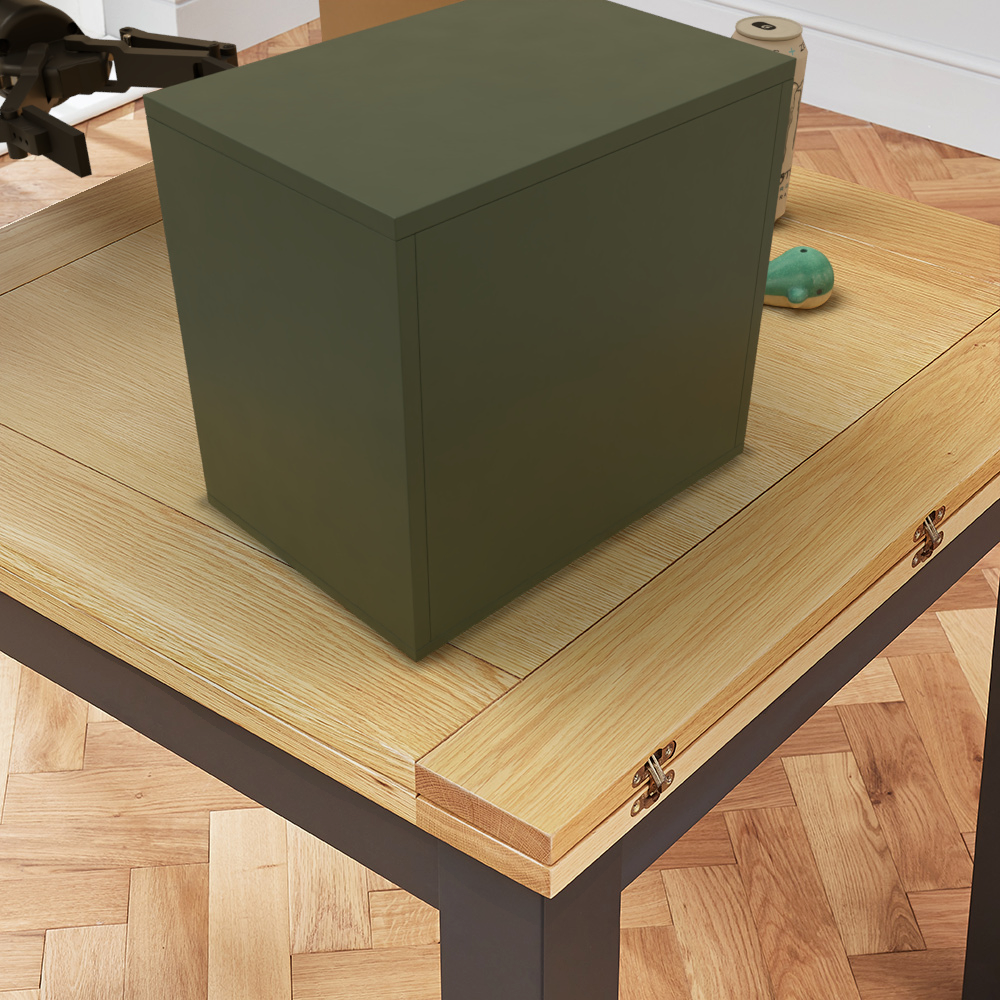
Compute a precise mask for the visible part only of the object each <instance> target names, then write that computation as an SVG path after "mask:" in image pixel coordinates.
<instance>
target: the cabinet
mask: <svg viewBox="0 0 1000 1000" xmlns="http://www.w3.org/2000/svg"><path fill="white" fill-rule="evenodd" d="M796 61H797V58H795V57H791V56H788V55H785V54H782V53H778V52H775V51H772V50H769V49H765V48H762V47H759V46H755V45H752V44H749V43H746V42H742V41H739V40H736V39H733V38H731V37H728V36H727V35H723V34H719V33H716V32H713V31H710V30H706V29H704V28H703V29H702V28H700V27H696V26H694V25H691V24H690V25H689V24H686V23H683V22H680V21H677V20H673V19H671V18H667V17H663V16H660V15H657V14H655V13H651V12H647V11H644V10H641V9H637V8H634V7H632V6H627V5H625V4H624V5H623V4H621V3H618V2H615V1H611V0H464V1H461V2H457V3H454V4H451V5H447V6H444V7H440V8H437V9H434V10H430V11H427V12H423V13H420V14H416V15H413V16H410V17H406V18H403V19H399V20H396V21H393V22H389V23H386V24H382V25H379V26H375V27H372V28H369V29H365V30H362V31H358V32H355V33H351V34H348V35H345V36H341V37H338V38H334V39H331V40H328V41H324V42H322V41H321V42H318V43H313V44H311V45H308V46H304V47H301V48H296V49H294V50H289V51H287V52H283V53H279V54H276V55H273V56H270V57H266V58H263V59H259V60H255V61H252V62H250V63H246V64H243V65H238V66H239V67H235V68H232V69H228V70H225V71H222V72H218V73H215V74H211V75H208V76H204V77H201V78H198V79H194V80H191V81H187V82H184V83H181V84H177V85H174V86H170V87H167V88H159V89H157V90H153V91H150V92H147V93H144V94H142V101H143V107H144V114H145V115H146V116H145V120H146V126H147V131H148V137H149V145H150V150H151V151H150V152H151V157H152V163H153V169H154V175H155V181H156V187H157V194H158V200H159V205H160V212H161V218H162V223H163V225H162V226H163V230H164V237H165V242H166V249H167V256H168V263H169V268H170V274H171V279H172V286H173V293H174V299H175V305H176V310H177V318H178V323H179V329H180V335H181V341H182V348H183V354H184V360H185V365H186V372H187V379H188V384H189V390H190V397H191V402H192V403H191V404H192V409H193V416H194V422H195V428H196V434H197V442H198V447H199V453H200V459H201V465H202V466H201V467H202V471H203V478H204V484H205V490H206V496H207V497H206V498H207V501H208V504H209V505H211V507H213V508H214V509H215V510H217V511H218V512H220V513H221V514H222V515H224V516H225V517H226V518H228V519H229V520H230V521H231V522H233V523H234V525H236V526H238V528H240V529H242V530H243V531H244V532H246V533H247V534H249V535H250V536H251V537H252V538H253V539H255V540H256V541H257V542H259V543H260V544H261V545H263V546H264V548H266V549H268V550H269V551H271V553H273V554H274V555H276V556H277V557H278V558H279V559H281V560H282V561H283V562H285V563H286V564H287V565H288V566H290V567H291V568H292V569H293V570H295V571H296V572H298V573H299V574H301V576H302V577H304V578H306V580H308V581H309V582H310V583H312V584H313V585H315V586H316V587H317V588H318V589H320V590H321V591H323V592H324V593H325V594H326V595H328V596H329V597H330V598H332V599H333V601H335V602H337V603H338V604H339V605H341V606H342V607H343V608H345V609H346V610H347V611H348V612H350V613H351V614H352V615H354V617H356V618H357V619H359V620H360V621H361V622H363V623H364V624H365V625H367V626H368V627H369V628H370V629H372V630H373V631H374V632H376V633H377V634H378V635H379V636H381V637H382V638H383V639H385V641H387V642H389V643H390V644H391V645H393V646H394V647H395V648H397V650H399V651H400V652H402V653H403V654H404V655H406V657H408V658H410V659H411V660H412V661H413V662H415V663H418V662H420V661H421V660H423V659H424V658H426V657H428V656H429V655H430V654H433V653H434V652H436V651H437V650H438V649H441V648H442V647H443V646H445V645H447V644H448V643H449V642H451V641H452V640H454V639H455V638H457V637H459V636H460V635H461V634H463V633H465V632H466V631H468V630H470V629H471V628H473V627H474V626H476V625H477V624H478V623H481V622H483V620H485V619H487V618H488V617H489V616H492V615H493V614H495V613H496V612H497V611H499V610H501V609H502V608H504V607H505V606H507V605H508V604H510V603H512V602H514V601H515V600H516V599H518V598H519V597H521V596H523V595H524V594H525V593H527V592H529V591H530V590H532V589H533V588H534V587H536V586H538V585H540V583H542V582H545V580H547V579H548V578H550V577H552V576H553V575H556V574H557V573H558V572H559V571H561V570H562V569H564V568H566V567H567V566H569V565H570V564H572V563H574V562H576V561H577V560H578V559H580V558H581V557H582V556H583V557H584V556H585V555H586V554H588V553H589V552H590V551H592V550H593V549H595V548H597V547H599V546H600V545H601V544H603V543H604V542H606V541H608V540H609V539H610V538H612V537H614V536H615V535H617V534H619V533H620V532H622V531H624V530H625V529H626V528H629V526H631V525H632V524H634V523H636V522H637V521H638V520H641V519H642V518H644V517H645V516H647V515H648V514H649V513H651V512H652V511H655V510H656V509H657V508H659V507H661V506H662V505H663V504H665V503H666V502H668V501H671V499H673V498H674V497H676V496H678V495H679V494H680V493H682V492H684V491H685V490H686V489H688V488H690V487H691V486H693V485H694V484H696V483H698V482H699V481H700V480H702V479H704V478H706V477H707V476H709V475H710V474H711V473H713V472H714V471H716V470H719V468H721V467H722V466H724V465H726V464H728V463H729V462H730V461H732V460H734V459H735V458H737V457H738V456H739V455H741V454H743V453H744V447H745V441H746V435H747V434H746V433H747V427H748V420H749V412H750V406H751V398H752V390H753V382H754V376H755V368H756V362H757V361H756V360H757V355H758V354H757V353H758V345H759V339H760V332H761V325H762V318H763V309H764V304H763V303H764V296H765V289H766V281H767V274H768V267H769V261H770V260H771V252H772V243H773V237H774V231H775V223H776V221H775V216H776V208H777V201H778V194H779V186H780V179H781V172H782V164H783V157H784V150H785V142H786V135H787V128H788V121H789V113H790V106H791V99H792V91H793V84H794V76H795V69H796Z"/></svg>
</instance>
